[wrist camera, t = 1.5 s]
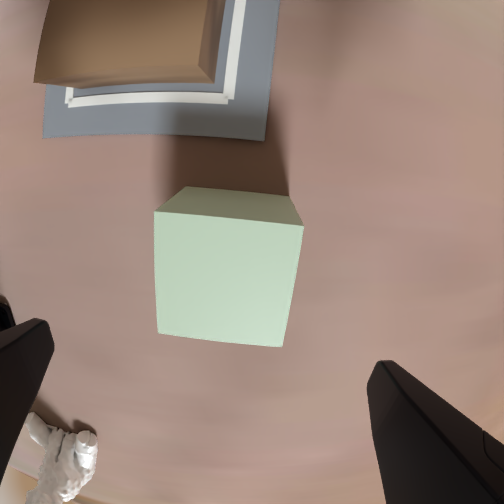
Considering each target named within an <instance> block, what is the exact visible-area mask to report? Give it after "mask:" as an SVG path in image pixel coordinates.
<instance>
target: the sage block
mask: <svg viewBox="0 0 504 504" xmlns="http://www.w3.org/2000/svg"><path fill="white" fill-rule="evenodd" d="M303 230H304V225H303V223H302V221H301V219H300V217H299V215H298V213H297V211H296V209H295V206H294V204H293V202H292V200H291V198H290V196H282V195H273V194H264V193H255V192H245V191H235V190H225V189H213V188H201V187H188V186H186V187H184V188H183V189H182V190H181V191H179V192H178V193H177V194H175V195H174V196H173V197H172V198H170V199H169V200H168V201H167V202H165V203H164V204H163V205H162V206H160V207H159V208H158V209H157V210H155V211H154V264H155V291H156V310H157V325H158V333H161V334H167V335H174V336H181V337H188V338H196V339H204V340H212V341H221V342H230V343H240V344H250V345H262V346H275V347H282V344H283V340H284V335H285V330H286V325H287V320H288V314H289V309H290V304H291V299H292V293H293V288H294V282H295V277H296V271H297V266H298V260H299V254H300V248H301V242H302V236H303Z"/></svg>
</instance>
